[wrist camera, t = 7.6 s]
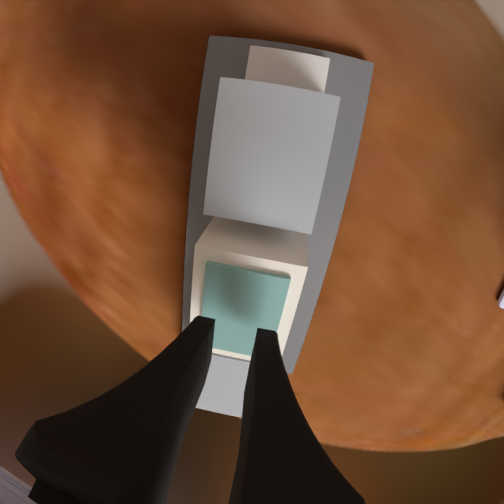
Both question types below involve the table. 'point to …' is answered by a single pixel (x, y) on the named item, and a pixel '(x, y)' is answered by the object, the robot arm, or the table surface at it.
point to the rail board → (335, 176)
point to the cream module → (247, 282)
